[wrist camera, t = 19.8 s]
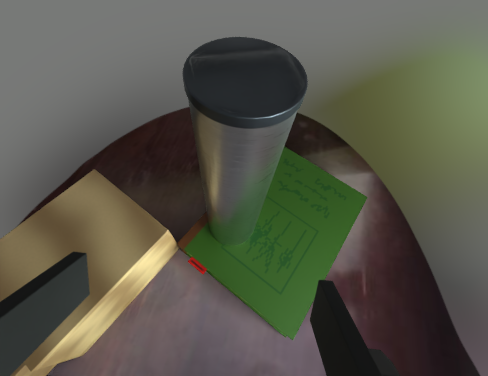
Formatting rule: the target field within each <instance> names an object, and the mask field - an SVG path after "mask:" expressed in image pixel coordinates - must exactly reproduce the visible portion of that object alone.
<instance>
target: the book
mask: <svg viewBox="0 0 488 376" xmlns="http://www.w3.org/2000/svg"><path fill="white" fill-rule="evenodd" d="M366 199H367V197H366V196H365V195H363V194H361V193H360V192H358V191H357V190H355V189H353V188H352V187H350V186H348V185H347V184H345V183H343V182H342V181H340V180H339V179H337V178H335V177H334V176H332V175H330V174H329V173H327V172H325V171H324V170H322V169H320V168H319V167H317V166H316V165H314V164H312V163H311V162H309V161H307V160H306V159H304V158H302V157H301V156H299V155H298V154H296V153H294V152H293V151H291V150H289V149H288V148H286V147H284V148H283V151H282V154H281V156H280V159H279V162H278V165H277V167H276V170H275V173H274V176H273V178H272V181H271V184H270V186H269V189H268V192H267V195H266V197H265V200H264V203H263V206H262V208H261V211H260V214H259V217H258V219H257V222H256V225H255V227H254V230H253V233H252V235H251V236H250V237H249V238H248V239H247V240H246V241H245V242H243V243H241V244H239V245H232V246H231V245H225V244H222V243H220V242H219V241H217V240H216V239H215V238H214V237H213V235H212V234H211V231H210V228H209V222H208V216H207V211H206V213H205V214H204V215H203V216H202V217H201V218H200V219H199V220H198V221H197V222H196V223H195V225H194V226H193V227H192V228H191V229H190V230H189V231H188V232H187V233H186V234H185V235H184V237H183V238H182V239H181V240H180V241H179V242H178V243H177V245H178V246H179V248H180V249H181V250H182V251H183V252H184V253H185V254H186V255H188V256H189V257H190V260H189V261H188V262H189V263H190V264H191V265H193V266H194V267H195V268H196V269H197V270H198V271H200V272H201V273H202V274H204V273H205V271H207V272H208V273H209V274H210V275H211V276H213V277H214V278H215V279H216V280H217V281H219V282H220V283H221V284H222V285H223V286H225V287H226V288H227V289H228V290H229V291H231V292H232V293H233V294H234V295H235V296H237V297H238V298H239V299H240V300H241V301H243V302H244V303H245V304H246V305H247V306H249V307H250V308H251V309H252V310H253V311H255V312H256V313H257V314H258V315H259V316H260V317H262V318H263V319H264V320H265V321H266V322H268V323H269V324H270V325H271V326H272V327H274V328H275V329H276V330H277V331H278V332H280V333H281V334H282V335H283V336H284V337H286V336H288V337H289V338H290V339H292V340H293V339H294V337H295V335H296V333H297V331H298V330H299V328H300V326H301V324H302V322H303V320H304V318H305V316H306V314H307V312H308V310H309V308H310V307H311V305H312V303H313V301H314V299H315V295H316V290H317V285H318V281H319V280H325V278H326V276H327V274H328V272H329V270H330V268H331V266H332V264H333V262H334V261H335V259H336V257H337V255H338V253H339V251H340V249H341V247H342V245H343V243H344V241H345V239H346V238H347V236H348V234H349V232H350V230H351V228H352V226H353V224H354V222H355V220H356V218H357V216H358V215H359V213H360V211H361V209H362V207H363V205H364V203H365V201H366Z"/></svg>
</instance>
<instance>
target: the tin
mask: <svg viewBox="0 0 488 376" xmlns="http://www.w3.org/2000/svg"><path fill="white" fill-rule="evenodd" d="M183 81H184V87H185V91H186V94H187V97H188V99H189V106H190V112H191V118H192V124H193V130H194V136H195V142H196V149H197V155H198V161H199V167H200V173H201V179H202V185H203V191H204V197H205V203H206V210H207V216H208V222H209V228H210V231H211V234H212V235H213V237H214V238H215V239H216V240H217V241H219V242H220V243H222V244H225V245H231V246H232V245H239V244H241V243H243V242H245V241H246V240H247V239H248V238H249V237H250V236H251V235H252V233H253V230H254V227H255V225H256V222H257V219H258V217H259V214H260V211H261V208H262V206H263V203H264V200H265V197H266V195H267V192H268V189H269V186H270V184H271V181H272V178H273V176H274V173H275V170H276V167H277V165H278V162H279V159H280V156H281V154H282V151H283V148H284V145H285V143H286V140H287V137H288V135H289V132H290V129H291V126H292V124H293V121H294V118H295V115H296V113H297V110H298V109H299V107H300V106H301V104H302V102H303V99H304V96H305V94H306V90H307V84H308V83H307V82H308V81H307V75H306V72H305V70H304V68H303V66H302V65H301V63H300V62H299V61H298V60H297V59H296V57H294V56H293V55H292V54H291V53H289V52H288V51H286V50H285V49H283V48H281V47H280V46H277V45H275V44H273V43H270V42H267V41H264V40H260V39H255V38H247V37H229V38H222V39H217V40H214V41H211V42H208V43H206V44H204V45H202V46H200V47H198V48H197V49H196V50H194V52H192V53H191V54H190V56H189V57H188V58H187V60H186V62H185V64H184V68H183Z"/></svg>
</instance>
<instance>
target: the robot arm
mask: <svg viewBox="0 0 488 376" xmlns="http://www.w3.org/2000/svg"><path fill="white" fill-rule="evenodd" d="M89 295H90V290H89V277H88V265H87V253H82V252H72V253H70V254H69V255H67V256H66V257H64V258H63V259H62V260H60V261H59V262H57V263H56V264H54V265H53V266H51V267H50V268H48V269H47V270H46V271H44V272H43V273H41V274H40V275H38V276H37V277H35V278H34V279H32V280H31V281H30V282H28V283H27V284H25V285H24V286H22V287H21V288H19V289H18V290H17V291H15V292H14V293H12V294H11V295H9V296H8V297H6V298H5V299H3V300H2V301H1V302H0V376H10V375H11V374H12V373H13V372H14V371H15V370H16V369H17V368H18V367H19V366H20V365H21V364H22V363H23V362H24V361H25V360H26V359H27V358H28V357H29V356H30V355H31V354H32V353H33V352H34V351H35V350H36V349H37V348H38V347H39V346H40V345H41V344H42V343H43V342H44V341H45V340H46V339H47V338H48V337H49V336H50V335H51V334H52V332H53V331H54V330H55V329H56V328H57V327H58V326H59V325H60V324H61V323H62V322H63V321H64V320H65V319H66V318H67V317H68V316H69V315H70V314H71V313H72V312H73V311H74V310H75V309H76V308H77V307H78V306H79V305H80V304H81V303H82V302H83V301H84V300H85V299H86V298H87V297H88V296H89ZM310 322H311V325H312V328H313V332H314V335H315V338H316V342H317V345H318V348H319V352H320V355H321V358H322V362H323V365H324V368H325V371H326V375H327V376H400V375H399V373H398V371H397V370H396V368H395V366H394V365H393V363H392V362H391V361H390V360H389V359H388V358H387V357H386V356H385V354H384V353H383V352H382V351H381V350H376V349H368V348H367V346H366V344H365V342H364V341H363V339H362V337H361V335H360V333H359V331H358V329H357V327H356V325H355V323H354V321H353V319H352V318H351V316H350V314H349V312H348V310H347V308H346V306H345V304H344V302H343V300H342V298H341V297H340V295H339V293H338V291H337V289H336V287H335V285H334V283H333V281H326V280H319V281H318V285H317V290H316V295H315V299H314V304H313V308H312V313H311V317H310Z"/></svg>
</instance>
